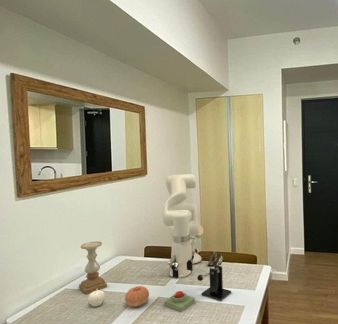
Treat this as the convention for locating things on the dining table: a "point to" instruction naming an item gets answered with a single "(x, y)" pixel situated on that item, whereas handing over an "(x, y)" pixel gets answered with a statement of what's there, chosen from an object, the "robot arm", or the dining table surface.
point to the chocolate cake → (215, 259)
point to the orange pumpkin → (137, 296)
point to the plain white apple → (96, 297)
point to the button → (179, 294)
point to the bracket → (216, 285)
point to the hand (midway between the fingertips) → (182, 273)
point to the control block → (179, 302)
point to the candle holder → (92, 270)
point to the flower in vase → (196, 257)
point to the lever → (200, 277)
